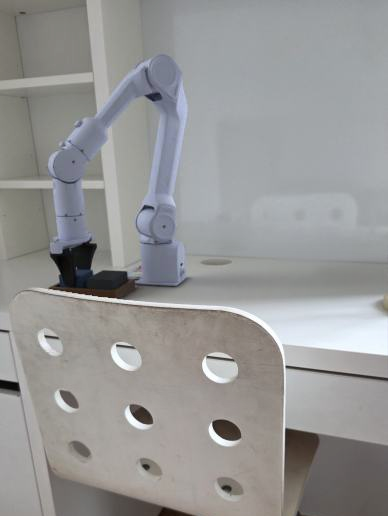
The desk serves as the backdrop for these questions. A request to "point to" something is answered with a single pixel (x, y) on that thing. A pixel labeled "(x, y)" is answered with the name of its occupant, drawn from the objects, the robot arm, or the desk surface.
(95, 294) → the pad tray
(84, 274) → the navy blue cube
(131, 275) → the smartphone
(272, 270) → the desk surface
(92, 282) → the charcoal pad
